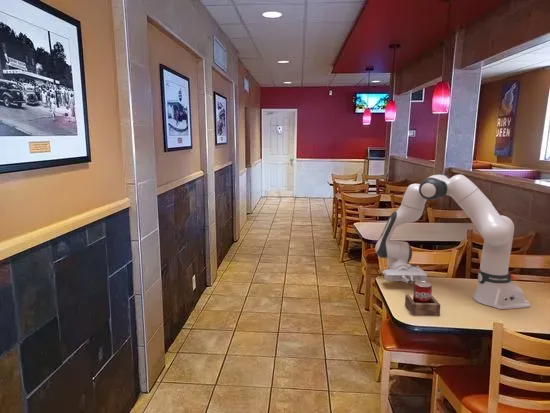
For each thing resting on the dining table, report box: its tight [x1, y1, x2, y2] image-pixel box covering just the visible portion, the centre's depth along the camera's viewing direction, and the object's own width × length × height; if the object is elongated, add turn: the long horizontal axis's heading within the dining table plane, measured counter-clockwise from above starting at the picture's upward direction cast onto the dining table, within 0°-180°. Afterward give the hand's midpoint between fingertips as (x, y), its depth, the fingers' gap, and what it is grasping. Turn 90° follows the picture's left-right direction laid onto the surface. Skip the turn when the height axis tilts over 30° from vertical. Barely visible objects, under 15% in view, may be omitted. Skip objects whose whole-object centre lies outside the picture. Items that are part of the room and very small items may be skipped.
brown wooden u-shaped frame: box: [404, 294, 441, 317], centre depth 166 cm, size 12×10×5 cm
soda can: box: [412, 281, 433, 303], centre depth 166 cm, size 7×7×12 cm
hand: (409, 281), depth 182 cm, fingers closed
